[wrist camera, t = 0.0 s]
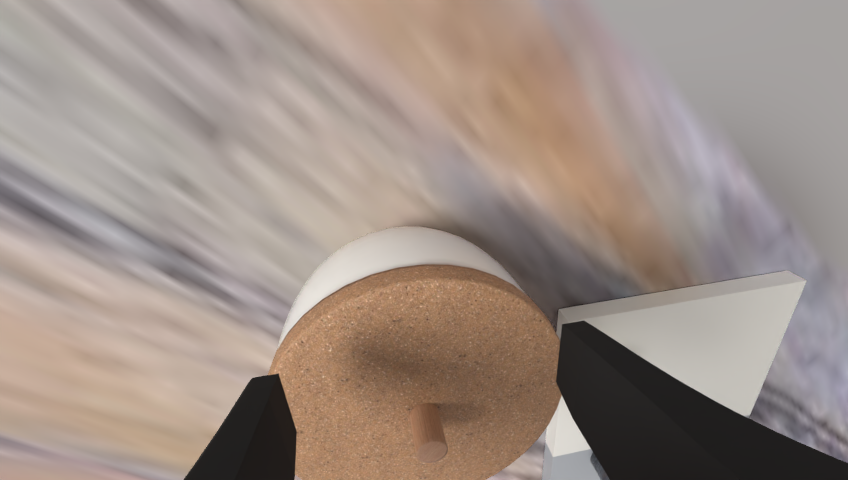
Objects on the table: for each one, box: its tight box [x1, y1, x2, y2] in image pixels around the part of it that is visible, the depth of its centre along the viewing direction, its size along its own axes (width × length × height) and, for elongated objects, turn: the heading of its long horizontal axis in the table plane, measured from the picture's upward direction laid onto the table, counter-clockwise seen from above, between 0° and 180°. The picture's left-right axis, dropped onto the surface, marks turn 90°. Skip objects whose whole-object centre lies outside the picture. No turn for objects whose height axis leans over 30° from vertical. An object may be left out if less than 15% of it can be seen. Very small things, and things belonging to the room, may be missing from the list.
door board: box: [542, 270, 807, 480], centre depth 27 cm, size 18×15×4 cm
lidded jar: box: [268, 226, 562, 480], centre depth 17 cm, size 11×11×9 cm
